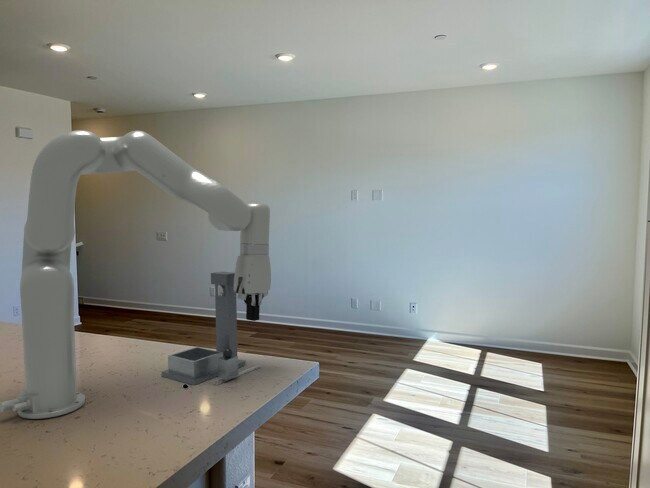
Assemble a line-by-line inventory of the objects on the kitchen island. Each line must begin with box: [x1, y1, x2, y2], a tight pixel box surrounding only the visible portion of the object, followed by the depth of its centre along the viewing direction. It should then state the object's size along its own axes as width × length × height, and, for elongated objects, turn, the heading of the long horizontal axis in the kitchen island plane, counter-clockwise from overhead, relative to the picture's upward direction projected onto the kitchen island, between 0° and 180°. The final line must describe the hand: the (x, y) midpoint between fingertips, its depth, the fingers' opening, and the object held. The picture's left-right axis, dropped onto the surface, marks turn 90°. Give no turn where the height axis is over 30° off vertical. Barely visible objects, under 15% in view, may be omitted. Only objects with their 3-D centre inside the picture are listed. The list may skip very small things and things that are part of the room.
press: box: [161, 271, 262, 386], centre depth 123 cm, size 19×17×25 cm
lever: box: [217, 348, 239, 381], centre depth 118 cm, size 4×3×7 cm
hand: (252, 319), depth 126 cm, fingers closed
